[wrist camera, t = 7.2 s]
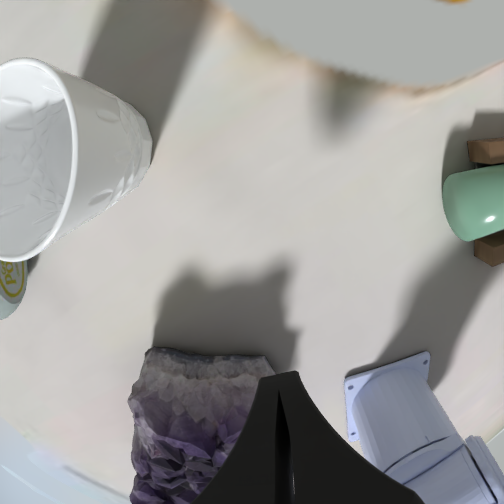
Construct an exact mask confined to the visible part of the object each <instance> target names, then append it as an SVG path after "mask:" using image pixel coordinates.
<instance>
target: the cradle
mask: <svg viewBox="0 0 504 504" xmlns="http://www.w3.org/2000/svg"><path fill="white" fill-rule="evenodd" d="M467 144H468V151H469V158H470V161H472V162H475V169H479V168H484V167H488V166H493V165H499V164H504V138H495V139H484V140H474V141H467ZM474 256H476V257H477V258H479V259H481V260H482V261H484V262H486V263H487V264H489V265H491V266H492V267H493V266H496V265H498V264H501V263H503V262H504V229H502V230H500V231H497V232H494V233H492V234H489V235H486V236H483V237H480V238H478V239H475V248H474Z"/></svg>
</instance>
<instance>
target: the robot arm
mask: <svg viewBox="0 0 504 504" xmlns="http://www.w3.org/2000/svg"><path fill="white" fill-rule="evenodd" d="M429 365H430V353H429V352H428V351H425V352H422V353H420V354H417V355H414V356H412V357H409V358H406V359H403V360H400V361H398V362H395V363H392V364H389V365H386V366H383V367H380V368H376V369H373V370H370V371H367V372H363V373H360V374H357V375H353V376H350V377H347V378H346V379H345V380H344V391H345V402H346V415H347V429H348V439H349V441H350V442H353V441H357V440H359V441H360V444H361V447H362V450H363V454H364V457H365V458H364V457H362V456H361V455H360V454H359V453H357V452H356V451H355V450H354V449H353V448H352V447H351V446H350V445H349V444H348V443H347V442H346V441H345V440H344V439H343V438H342V437H341V436H340V435H339V434H338V433H337V432H336V431H335V430H334V429H333V427H332V426H331V425H330V424H329V423H328V421H327V420H326V419H325V418H324V416H323V415H322V414H321V412H320V411H319V410H318V408H317V407H316V405H315V404H314V402H313V401H312V399H311V398H310V396H309V395H308V393H307V391H306V389H305V387H304V385H303V383H302V381H301V379H300V376H299V372H297V371H291V372H286V373H281V374H276V375H272V376H267V377H261V378H260V380H259V382H258V386H257V390H256V394H255V397H254V400H253V403H252V406H251V409H250V411H249V414H248V417H247V419H246V422H245V424H244V426H243V428H242V430H241V432H240V434H239V437H238V439H237V441H236V443H235V444H234V446H233V448H232V450H231V452H230V453H229V455H228V457H227V458H226V460H225V461H224V463H223V464H222V466H221V467H220V469H219V470H218V471H217V473H216V474H215V476H214V477H213V478H212V480H211V481H210V482H209V483H208V485H207V486H206V487H205V488H204V489H203V490H202V492H201V493H200V494H199V495H198V496H197V497H196V498H195V499H194V500H193V501H192V502H191V503H190V504H504V475H503V473H502V471H501V469H500V468H499V466H498V464H497V462H496V461H495V459H494V457H493V456H492V454H491V453H490V451H489V449H488V447H487V446H486V444H485V443H484V441H483V439H482V438H481V437H480V436H473V435H470V436H469V437H468V438H466V439H465V441H466V443H467V444H466V443H465V441H464V440H463V439H462V438H461V436H460V435H459V434H458V432H457V431H456V429H455V427H454V426H453V424H452V422H451V421H450V419H449V417H448V416H447V414H446V412H445V411H444V409H443V408H442V406H441V404H440V403H439V401H438V400H437V398H436V396H435V395H434V393H433V392H432V390H431V389H430V387H429V386H428V384H427V379H428V372H429ZM351 385H352V386H351ZM349 386H350V387H349ZM293 476H294V484H293ZM294 493H295V495H294Z"/></svg>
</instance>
